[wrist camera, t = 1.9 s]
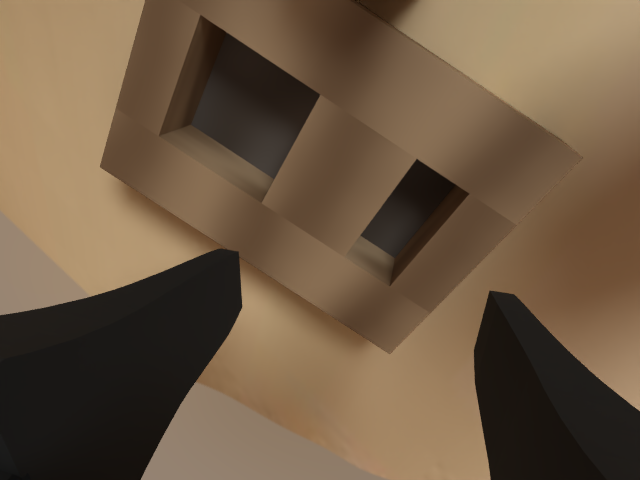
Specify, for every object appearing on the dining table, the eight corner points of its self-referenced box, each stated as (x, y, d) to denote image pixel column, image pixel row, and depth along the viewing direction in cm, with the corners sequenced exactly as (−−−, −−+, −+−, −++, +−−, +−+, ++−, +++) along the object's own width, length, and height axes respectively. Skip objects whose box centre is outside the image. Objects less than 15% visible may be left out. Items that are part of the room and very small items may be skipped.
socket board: (560, 139, 17) (582, 157, 15) (395, 318, 23) (389, 354, 20) (217, -93, 17) (177, -117, 14) (138, 152, 22) (99, 166, 20)
